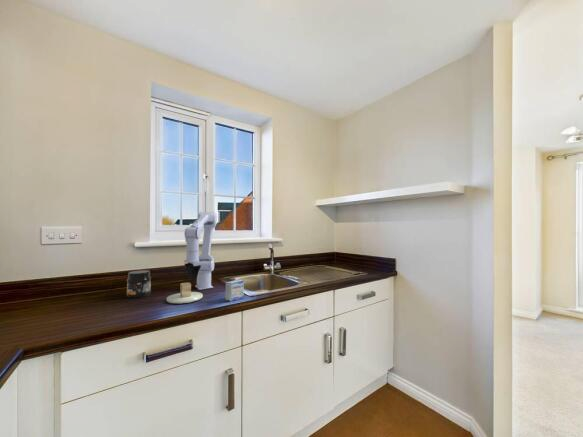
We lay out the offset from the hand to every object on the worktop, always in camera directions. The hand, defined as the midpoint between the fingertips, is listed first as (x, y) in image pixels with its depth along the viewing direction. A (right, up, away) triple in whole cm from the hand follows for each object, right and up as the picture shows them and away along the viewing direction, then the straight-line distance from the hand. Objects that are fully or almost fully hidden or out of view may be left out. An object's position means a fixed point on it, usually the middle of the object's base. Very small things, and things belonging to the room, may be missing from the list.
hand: (192, 278), depth 122 cm
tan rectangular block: (-2, -8, -4) cm, 9 cm away
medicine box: (+22, -9, -3) cm, 24 cm away
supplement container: (-29, -10, +3) cm, 30 cm away
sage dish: (-2, -9, -4) cm, 10 cm away
